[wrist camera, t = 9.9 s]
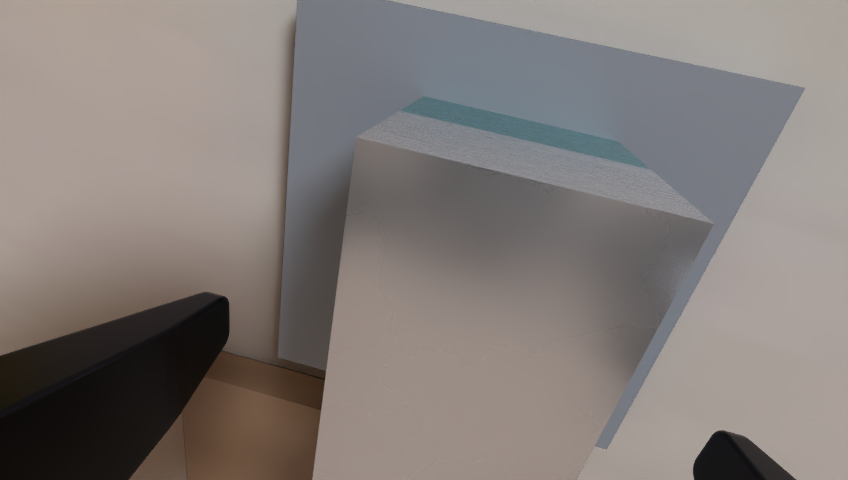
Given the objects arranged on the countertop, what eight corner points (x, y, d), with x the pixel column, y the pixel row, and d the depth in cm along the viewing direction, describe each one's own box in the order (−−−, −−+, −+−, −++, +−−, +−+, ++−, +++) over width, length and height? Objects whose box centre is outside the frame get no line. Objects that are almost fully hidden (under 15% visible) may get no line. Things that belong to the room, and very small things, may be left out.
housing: (523, 378, 14) (532, 560, 9) (377, 338, 15) (310, 493, 10) (617, 140, 11) (714, 223, 6) (423, 96, 11) (356, 137, 6)
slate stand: (768, 82, 11) (805, 87, 10) (598, 415, 16) (606, 449, 15) (322, -12, 12) (298, -19, 11) (295, 332, 17) (277, 357, 16)
